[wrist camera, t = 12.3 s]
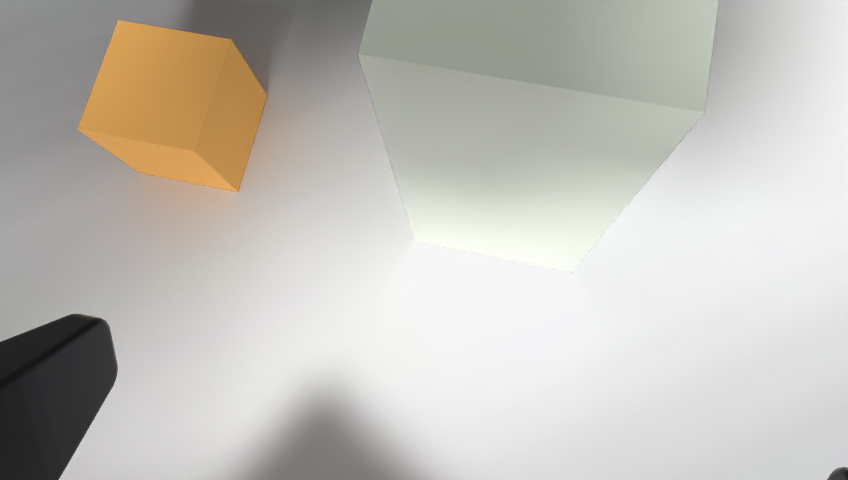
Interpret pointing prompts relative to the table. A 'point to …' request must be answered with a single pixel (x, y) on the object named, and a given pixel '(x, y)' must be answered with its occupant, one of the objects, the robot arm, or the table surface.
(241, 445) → the table surface
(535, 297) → the table surface
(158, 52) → the orange block
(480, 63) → the pale green box
